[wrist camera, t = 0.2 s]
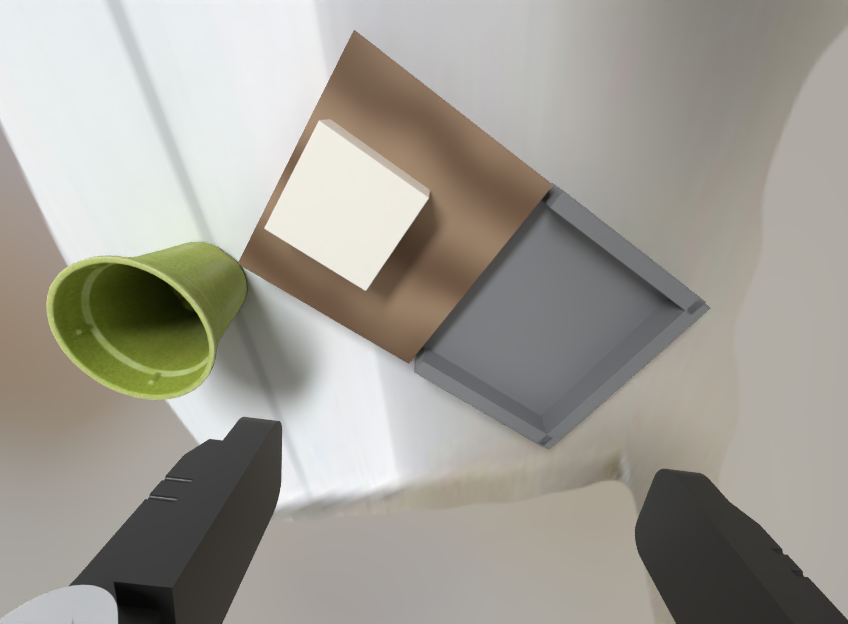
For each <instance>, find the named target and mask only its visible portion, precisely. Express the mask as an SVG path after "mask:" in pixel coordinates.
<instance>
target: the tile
mask: <svg viewBox="0 0 848 624" xmlns="http://www.w3.org/2000/svg"><path fill="white" fill-rule="evenodd" d="M429 193H430V190H429V189H428V188H427V187H425V186H424V185H422V184H421V183H419V182H418V181H417V180H415V179H414V178H412V177H411V176H410V175H408V174H407V173H405V172H404V171H403V170H401V169H400V168H398V167H397V166H396V165H394V164H393V163H391V162H390V161H389V160H387V159H386V158H384V157H383V156H382V155H380V154H379V153H377V152H376V151H375V150H373V149H372V148H370V147H369V146H367V145H366V144H365V143H363V142H362V141H360V140H359V139H358V138H356V137H355V136H353V135H352V134H351V133H349V132H348V131H346V130H345V129H344V128H342V127H341V126H339V125H338V124H337V123H335V122H334V121H332V120H331V119H327V120H319V121H318V123H317V125H316V127H315V129H314V131H313V133H312V135H311V137H310V139H309V141H308V143H307V145H306V147H305V149H304V151H303V153H302V155H301V157H300V159H299V161H298V163H297V165H296V167H295V169H294V171H293V173H292V174H291V176H290V178H289V180H288V182H287V184H286V186H285V188H284V190H283V192H282V194H281V196H280V198H279V200H278V202H277V204H276V206H275V208H274V210H273V212H272V214H271V216H270V218H269V220H268V222H267V224H266V226H265V228H264V229H266V230H267V231H269V232H271V233H272V234H274V235H276V236H277V237H279V238H280V239H282V240H284V241H285V242H287V243H289V244H290V245H292V246H293V247H295V248H297V249H298V250H300V251H302V252H303V253H305V254H306V255H308V256H310V257H311V258H313V259H315V260H316V261H318V262H319V263H321V264H323V265H324V266H326V267H328V268H329V269H331V270H332V271H334V272H336V273H337V274H339V275H341V276H342V277H344V278H345V279H347V280H349V281H350V282H352V283H354V284H355V285H357V286H358V287H360V288H362V289H363V290H365V291H366V290H367V288H368V287H369V286H370V284H371V283H372V281H373V280H374V278H375V277H376V275H377V274H378V272H379V271H380V269H381V268H382V266H383V265H384V263H385V262H386V260H387V259H388V258H389V256H390V255H391V253H392V252H393V250H394V249H395V247H396V246H397V244H398V243H399V241H400V240H401V238H402V237H403V235H404V234H405V232H406V231H407V230H408V228H409V227H410V225H411V224H412V222H413V221H414V219H415V218H416V216H417V215H418V213H419V212H420V210H421V209H422V207H423V206H424V204H425V203H426V202H427V200H428V199H429Z"/></svg>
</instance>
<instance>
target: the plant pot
mask: <svg viewBox="0 0 848 624" xmlns="http://www.w3.org/2000/svg"><path fill="white" fill-rule="evenodd" d="M246 294H247V283H246V278H245V275H244V273H243V271H242V269H241V267H240V266H239V264H238V263H237V262H236V261H235V260H234V259H233V258H231V257H230V256H228V255H227V254H226V253H224V252H223V251H222V250H220V249H219V248H218V247H216V246H214V245H212V244H208V243H204V242H190V243H186V244H182V245H178V246H174V247H171V248H168V249H164V250H160V251H157V252H153V253H149V254H145V255H141V256H137V257H121V256H97V257H92V258H88V259H84V260H81V261H79V262H76V263H74V264H72V265H70V266H68V267H67V268H65V269H64V270H63V271H62V272H60V273H59V275H58V276H57V277H56V278H55V280H54V281H53V283H52V285H51V286H50V288H49V292H48V295H47V315H48V321H49V324H50V328H51V331H52V333H53V335H54V337H55V338H56V340H57V342H58V344H59V346H60V347H61V349H62V350H63V351H64V353H65V354H66V355H67V356H68V357H69V358H70V359H71V361H72V362H74V364H75V365H76V366H78V367H79V368H80V369H81V370H82V371H83V372H85V373H86V374H87V375H89V376H90V377H92V378H93V379H94V380H96V381H97V382H99V383H101V384H103V385H104V386H106V387H108V388H111V389H113V390H115V391H117V392H120V393H123V394H126V395H129V396H133V397H138V398H143V399H150V400H163V399H171V398H176V397H180V396H183V395H185V394H187V393H189V392H191V391H193V390H195V389H196V388H197V387H199V386H200V385H201V384H202V383H203V382H204V381H205V379H206V378H207V377H208V375H209V374H210V372H211V370H212V368H213V366H214V363H215V358H216V349H217V345H218V342H219V340H220V338H221V337H222V335H223V334H224V332H225V331H226V329H227V327H228V326H229V324H230V323H231V321H232V320H233V318H234V317H235V315H236V314H237V312H238V311H239V309H240V307H241V306H242V304H243V302H244V300H245V298H246Z"/></svg>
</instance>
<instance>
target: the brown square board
mask: <svg viewBox="0 0 848 624" xmlns="http://www.w3.org/2000/svg"><path fill="white" fill-rule="evenodd" d="M327 119H331V120H332V121H334V122H335V123H337V124H338V125H339V126H341V127H342V128H344V129H345V130H346V131H348V132H349V133H351V134H352V135H353V136H355V137H356V138H358V139H359V140H360V141H362V142H363V143H365V144H366V145H367V146H369V147H370V148H372V149H373V150H375V151H376V152H377V153H379V154H380V155H382V156H383V157H384V158H386V159H387V160H389V161H390V162H391V163H393V164H394V165H396V166H397V167H398V168H400V169H401V170H403V171H404V172H405V173H407V174H408V175H410V176H411V177H412V178H414V179H415V180H417V181H418V182H419V183H421V184H422V185H424V186H425V187H427V188H428V189H429V190H430V193H429V199H428V200H427V202H426V203H425V204H424V206H423V207H422V209H421V210H420V212H419V213H418V215H417V216H416V218H415V219H414V221H413V222H412V224H411V225H410V227H409V228H408V230H407V231H406V232H405V234H404V235H403V237H402V238H401V240H400V241H399V243H398V244H397V246H396V247H395V249H394V250H393V252H392V253H391V255H390V256H389V258H388V259H387V260H386V262H385V263H384V265H383V266H382V268H381V269H380V271H379V272H378V274H377V275H376V277H375V278H374V280H373V281H372V283H371V284H370V286H369V287H368V288H367V290H366V291H365V290H363V289H362V288H360V287H358V286H357V285H355V284H354V283H352V282H350V281H349V280H347V279H345V278H344V277H342V276H341V275H339V274H337V273H336V272H334V271H332V270H331V269H329V268H328V267H326V266H324V265H323V264H321V263H319V262H318V261H316V260H315V259H313V258H311V257H310V256H308V255H306V254H305V253H303V252H302V251H300V250H298V249H297V248H295V247H293V246H292V245H290V244H289V243H287V242H285V241H284V240H282V239H280V238H279V237H277V236H276V235H274V234H272V233H271V232H269V231H267V230H266V229H264V228H265V226H266V224H267V222H268V220H269V218H270V216H271V214H272V212H273V210H274V208H275V206H276V204H277V202H278V200H279V198H280V196H281V194H282V192H283V190H284V188H285V186H286V184H287V182H288V180H289V178H290V176H291V174H292V173H293V171H294V169H295V167H296V165H297V163H298V161H299V159H300V157H301V155H302V153H303V151H304V149H305V147H306V145H307V143H308V141H309V139H310V137H311V135H312V133H313V131H314V129H315V127H316V125H317V123H318V121H319V120H327ZM552 186H553V185H552V184H551V183H550V182H548V181H547V180H546V179H545V178H543V177H542V176H541V175H540V174H538V173H537V172H536V171H534V170H533V169H532V168H531V167H529V166H528V165H527V164H525V163H524V162H523V161H522V160H520V159H519V158H518V157H516V156H515V155H514V154H513V153H511V152H510V151H509V150H507V149H506V148H505V147H504V146H502V145H501V144H500V143H499V142H497V141H496V140H495V139H493V138H492V137H491V136H490V135H488V134H487V133H486V132H484V131H483V130H482V129H481V128H479V127H478V126H477V125H475V124H474V123H473V122H472V121H470V120H469V119H468V118H466V117H465V116H464V115H463V114H461V113H460V112H459V111H458V110H456V109H455V108H454V107H452V106H451V105H450V104H449V103H447V102H446V101H445V100H443V99H442V98H441V97H440V96H438V95H437V94H436V93H434V92H433V91H432V90H431V89H429V88H428V87H427V86H425V85H424V84H423V83H422V82H420V81H419V80H418V79H417V78H415V77H414V76H413V75H411V74H410V73H409V72H408V71H406V70H405V69H404V68H402V67H401V66H400V65H399V64H397V63H396V62H395V61H393V60H392V59H391V58H390V57H388V56H387V55H386V54H384V53H383V52H382V51H381V50H379V49H378V48H377V47H376V46H374V45H373V44H372V43H370V42H369V41H368V40H367V39H365V38H364V37H363V36H361V35H360V34H359V33H358V32H356V31H355V30H354V31H353V33H352V35H351V37H350V39H349V41H348V43H347V45H346V47H345V49H344V51H343V53H342V55H341V57H340V59H339V61H338V63H337V65H336V67H335V69H334V71H333V73H332V75H331V77H330V79H329V81H328V83H327V85H326V87H325V89H324V91H323V93H322V95H321V97H320V99H319V101H318V103H317V105H316V107H315V109H314V111H313V113H312V115H311V117H310V119H309V121H308V123H307V125H306V127H305V129H304V132H303V134H302V136H301V138H300V140H299V142H298V144H297V146H296V148H295V150H294V152H293V154H292V156H291V158H290V160H289V162H288V164H287V166H286V168H285V170H284V172H283V174H282V176H281V178H280V180H279V182H278V184H277V186H276V188H275V190H274V192H273V194H272V196H271V198H270V200H269V202H268V204H267V206H266V208H265V210H264V212H263V214H262V216H261V218H260V220H259V222H258V224H257V226H256V228H255V230H254V232H253V234H252V236H251V238H250V240H249V242H248V244H247V246H246V248H245V250H244V252H243V254H242V256H241V258H240V260H239V262H238V264H239V265H241V266H243V267H244V268H246V269H248V270H249V271H251V272H253V273H255V274H256V275H258V276H260V277H261V278H263V279H265V280H266V281H268V282H270V283H272V284H273V285H275V286H277V287H278V288H280V289H282V290H284V291H285V292H287V293H289V294H290V295H292V296H294V297H296V298H297V299H299V300H301V301H302V302H304V303H306V304H308V305H309V306H311V307H313V308H314V309H316V310H318V311H320V312H321V313H323V314H325V315H326V316H328V317H330V318H332V319H333V320H335V321H337V322H338V323H340V324H342V325H344V326H345V327H347V328H349V329H350V330H352V331H354V332H355V333H357V334H359V335H361V336H362V337H364V338H366V339H367V340H369V341H371V342H373V343H374V344H376V345H378V346H379V347H381V348H383V349H385V350H386V351H388V352H390V353H391V354H393V355H395V356H397V357H398V358H400V359H402V360H403V361H405V362H407V363H410V361H411V360H412V359H413V358H414V356H415V355H416V354H417V353H418V351H419V350H420V349H421V348H422V347H423V345H424V344H425V343H426V342H427V340H428V339H429V338H430V337H431V335H432V334H433V333H434V332H435V330H436V329H437V328H438V327H439V325H440V324H441V323H442V322H443V321H444V319H445V318H446V317H447V316H448V314H449V313H450V312H451V311H452V309H453V308H454V307H455V306H456V304H457V303H458V302H459V301H460V299H461V298H462V297H463V296H464V295H465V293H466V292H467V291H468V290H469V288H470V287H471V286H472V285H473V283H474V282H475V281H476V280H477V278H478V277H479V276H480V275H481V274H482V272H483V271H484V270H485V269H486V267H487V266H488V265H489V264H490V262H491V261H492V260H493V259H494V257H495V256H496V255H497V254H498V252H499V251H500V250H501V249H502V248H503V246H504V245H505V244H506V243H507V241H508V240H509V239H510V238H511V236H512V235H513V234H514V233H515V231H516V230H517V229H518V228H519V227H520V225H521V224H522V223H523V222H524V220H525V219H526V218H527V217H528V215H529V214H530V213H531V212H532V210H533V209H534V208H535V207H536V205H537V204H538V203H539V202H540V201H541V199H542V198H543V197H544V196H545V194H546V193H547V192H548V191H549V189H550V188H551V187H552Z"/></svg>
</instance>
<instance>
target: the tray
mask: <svg viewBox="0 0 848 624" xmlns="http://www.w3.org/2000/svg"><path fill="white" fill-rule="evenodd" d="M551 184H552V185H553V186H552V187H551V188H550V189H549V191H548V192H547V193H546V194H545V196H544V197H543V198H542V199H541V201H540V202H539V203H538V204H537V205H536V207H535V208H534V209H533V210H532V212H531V213H530V214H529V215H528V217H527V218H526V219H525V220H524V222H523V223H522V224H521V225H520V227H519V228H518V229H517V230H516V231H515V233H514V234H513V235H512V236H511V238H510V239H509V240H508V241H507V243H506V244H505V245H504V246H503V248H502V249H501V250H500V251H499V252H498V254H497V255H496V256H495V257H494V259H493V260H492V261H491V262H490V264H489V265H488V266H487V267H486V269H485V270H484V271H483V272H482V274H481V275H480V276H479V277H478V278H477V280H476V281H475V282H474V283H473V285H472V286H471V287H470V288H469V290H468V291H467V292H466V293H465V295H464V296H463V297H462V298H461V299H460V301H459V302H458V303H457V304H456V306H455V307H454V308H453V309H452V311H451V312H450V313H449V314H448V316H447V317H446V318H445V319H444V321H443V322H442V323H441V324H440V325H439V327H438V328H437V329H436V330H435V332H434V333H433V334H432V335H431V337H430V338H429V339H428V340H427V342H426V343H425V344H424V345H423V347H422V348H421V349H420V350H419V351H418V353H417V354H416V358H415V368H414V372H415V373H417V374H418V375H420V376H422V377H423V378H425V379H427V380H429V381H430V382H432V383H434V384H436V385H437V386H439V387H441V388H442V389H444V390H446V391H448V392H449V393H451V394H453V395H454V396H456V397H458V398H460V399H461V400H463V401H465V402H467V403H468V404H470V405H472V406H473V407H475V408H477V409H479V410H480V411H482V412H484V413H485V414H487V415H489V416H491V417H492V418H494V419H496V420H498V421H499V422H501V423H503V424H504V425H506V426H508V427H510V428H511V429H513V430H515V431H516V432H518V433H520V434H522V435H523V436H525V437H527V438H528V439H530V440H532V441H534V442H535V443H537V444H539V445H541V446H542V447H543V446H544V447H546V448H548V449H550V448H551V447H552V446H553V445H554V444H556V443H557V442H558V441H559V440H560V439H561V438H562V437H564V436H565V435H566V434H567V433H568V432H569V431H570V430H572V429H573V428H574V427H575V426H576V425H577V424H579V423H580V422H581V421H582V420H583V419H584V418H585V417H587V416H588V415H589V414H590V413H591V412H592V411H593V410H595V409H596V408H597V407H598V406H599V405H600V404H601V403H603V402H604V401H605V400H606V399H607V398H608V397H609V396H611V395H612V394H613V393H614V392H615V391H616V390H617V389H619V388H620V387H621V386H622V385H623V384H624V383H625V382H627V381H628V380H629V379H630V378H631V377H632V376H633V375H635V374H636V373H637V372H638V371H639V370H640V369H641V368H643V367H644V366H645V365H646V364H647V363H648V362H649V361H651V360H652V359H653V358H654V357H655V356H656V355H657V354H659V353H660V352H661V351H662V350H663V349H664V348H665V347H667V346H668V345H669V344H670V343H671V342H672V341H674V340H675V339H676V338H677V337H678V336H679V335H680V334H682V333H683V332H684V331H685V330H686V329H687V328H688V327H690V326H691V325H692V324H693V323H694V322H695V321H696V320H698V319H699V318H700V317H701V316H702V315H703V314H704V313H706V312H707V311H708V310H709V309H710V307H709V306H708V305H706V304H705V303H706V302H705V301H704V300H703V299H701V298H700V297H699V296H697V295H696V294H695V293H694V292H692V291H691V290H690V289H688V288H687V287H686V286H685V285H683V284H682V283H681V282H680V281H678V280H677V279H676V278H674V277H673V276H672V275H671V274H669V273H668V272H667V271H665V270H664V269H663V268H662V267H660V266H659V265H658V264H657V263H655V262H654V261H653V260H651V259H650V258H649V257H648V256H646V255H645V254H644V253H642V252H641V251H640V250H639V249H637V248H636V247H635V246H634V245H632V244H631V243H630V242H628V241H627V240H626V239H625V238H623V237H622V236H621V235H619V234H618V233H617V232H616V231H614V230H613V229H612V228H611V227H609V226H608V225H607V224H605V223H604V222H603V221H602V220H600V219H599V218H598V217H596V216H595V215H594V214H593V213H591V212H590V211H589V210H588V209H586V208H585V207H584V206H582V205H581V204H580V203H579V202H577V201H576V200H575V199H573V198H572V197H571V196H570V195H568V194H567V193H566V192H564V191H563V190H562V189H560V188H559V187H557V186H556V185H554V184H553V183H551Z"/></svg>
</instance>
